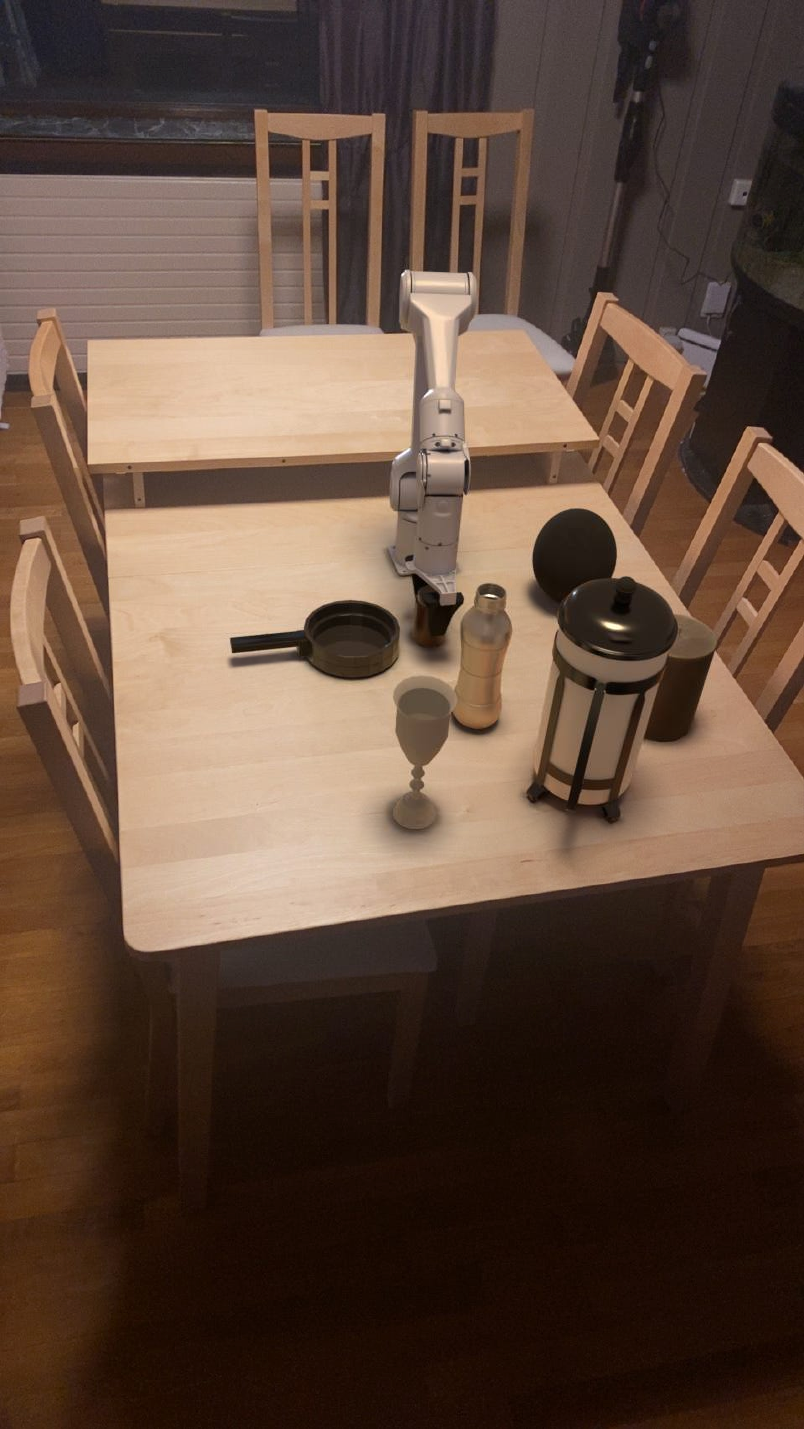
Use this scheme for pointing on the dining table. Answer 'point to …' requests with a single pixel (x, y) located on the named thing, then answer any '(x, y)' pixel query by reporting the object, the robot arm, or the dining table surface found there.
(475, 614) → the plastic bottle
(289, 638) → the skillet handle
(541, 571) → the decorative egg
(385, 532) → the dining table surface
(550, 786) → the coffee press
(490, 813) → the dining table surface
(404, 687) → the chalice
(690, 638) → the pillar candle
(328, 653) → the skillet
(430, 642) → the salt shaker
